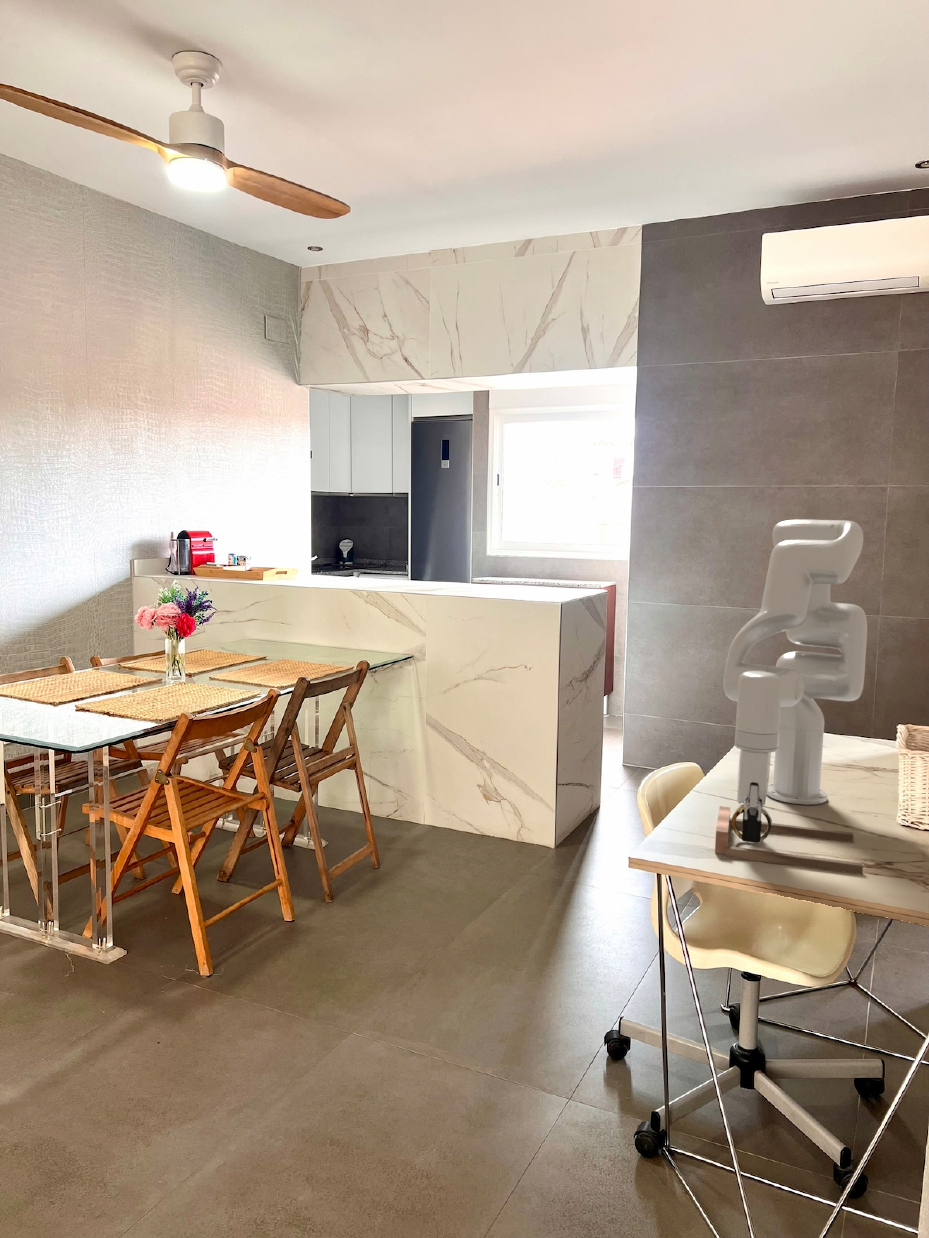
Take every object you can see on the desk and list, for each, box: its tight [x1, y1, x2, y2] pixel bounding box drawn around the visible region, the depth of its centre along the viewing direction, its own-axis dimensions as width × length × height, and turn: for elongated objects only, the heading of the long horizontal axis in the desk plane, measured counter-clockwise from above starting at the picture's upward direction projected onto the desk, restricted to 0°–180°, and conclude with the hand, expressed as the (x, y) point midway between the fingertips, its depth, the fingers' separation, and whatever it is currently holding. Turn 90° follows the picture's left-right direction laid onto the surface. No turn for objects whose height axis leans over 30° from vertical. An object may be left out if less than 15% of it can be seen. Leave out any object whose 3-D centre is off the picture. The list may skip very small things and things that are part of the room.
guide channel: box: [714, 805, 864, 875], centre depth 161 cm, size 17×24×4 cm
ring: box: [731, 802, 773, 845], centre depth 163 cm, size 7×3×8 cm, turn 65°
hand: (751, 833), depth 163 cm, fingers open, 7 cm apart
